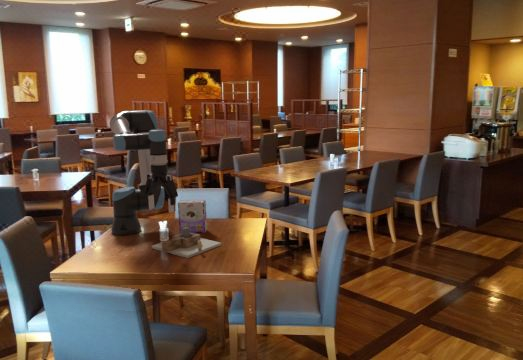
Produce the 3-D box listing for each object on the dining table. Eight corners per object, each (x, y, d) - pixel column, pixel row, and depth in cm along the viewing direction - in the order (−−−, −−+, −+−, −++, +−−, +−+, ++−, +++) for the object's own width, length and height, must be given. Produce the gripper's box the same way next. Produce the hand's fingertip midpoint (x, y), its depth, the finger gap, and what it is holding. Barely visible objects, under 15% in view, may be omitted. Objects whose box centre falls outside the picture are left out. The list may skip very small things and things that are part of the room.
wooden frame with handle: (186, 239, 225) (186, 231, 225) (200, 242, 220) (200, 234, 219) (157, 249, 211) (157, 241, 210) (171, 253, 206) (171, 244, 205)
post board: (151, 248, 218) (150, 229, 216) (186, 236, 235) (185, 219, 234) (188, 258, 203) (187, 238, 202) (222, 245, 220) (221, 227, 219)
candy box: (207, 230, 247) (206, 199, 244) (205, 233, 241) (203, 202, 238) (182, 229, 248) (180, 199, 245) (179, 232, 242) (177, 202, 239)
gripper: (134, 163, 214) (137, 209, 218) (173, 166, 201) (175, 215, 205) (146, 161, 220) (148, 206, 224) (184, 164, 208) (186, 211, 211)
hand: (161, 210), depth 215 cm, fingers open, 12 cm apart
